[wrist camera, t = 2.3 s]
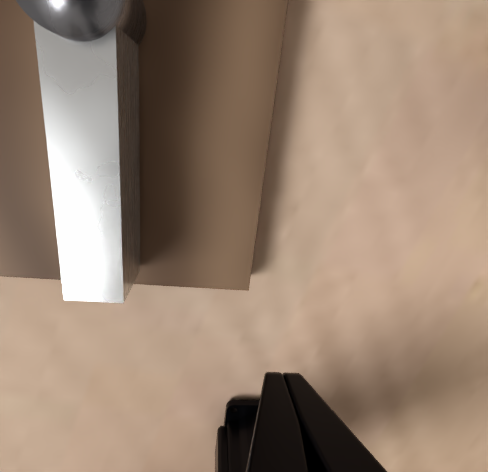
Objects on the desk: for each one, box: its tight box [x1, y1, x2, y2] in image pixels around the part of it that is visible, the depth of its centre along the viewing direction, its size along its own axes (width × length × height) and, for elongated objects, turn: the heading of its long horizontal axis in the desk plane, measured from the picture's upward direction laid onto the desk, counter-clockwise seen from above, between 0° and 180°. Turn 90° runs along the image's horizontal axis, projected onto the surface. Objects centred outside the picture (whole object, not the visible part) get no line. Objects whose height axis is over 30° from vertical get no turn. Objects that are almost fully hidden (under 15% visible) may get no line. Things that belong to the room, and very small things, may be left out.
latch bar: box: [16, 0, 147, 303], centre depth 12 cm, size 12×3×4 cm, turn 173°
